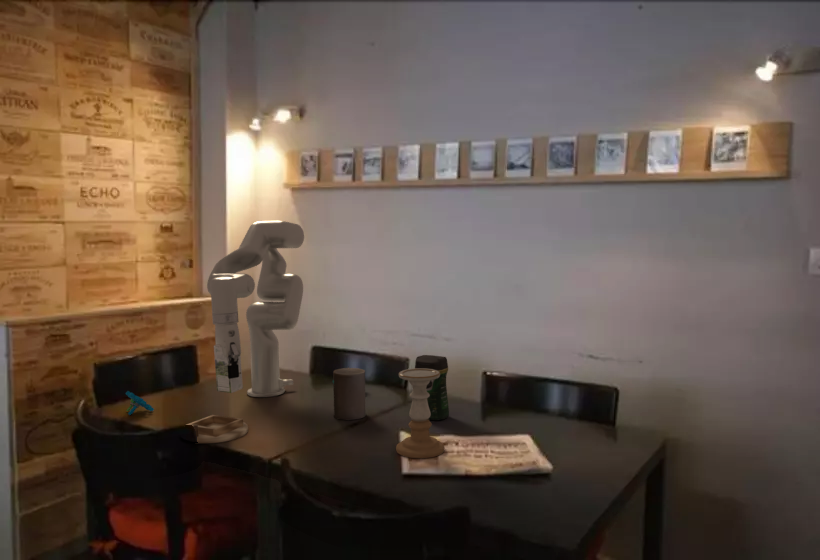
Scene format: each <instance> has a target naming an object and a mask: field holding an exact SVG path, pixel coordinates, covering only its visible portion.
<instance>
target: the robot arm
mask: <svg viewBox="0 0 820 560" xmlns="http://www.w3.org/2000/svg"><path fill="white" fill-rule="evenodd" d="M304 239H305V233H304V230H303V228H302V226H301V225H299V224H297V223H295V222H294V223H293V222H290V221H286V220H285V221H284V220H262V221H261V220H260V221H255V222H253V223H252V224H250V226H249V228H248V230H247V231H246V233H245V235H244V237H243V239H242V241H241V242H240V245H239V247H238V248H237V249H236V250H235V249H234V251H232V252H230V253H229V254H227V255H225V256H224V257H222V258H221V259H220V260H219V261H217V263H216V264H215V265H214V267H213V269H211V272H210V274H209V276H208V279H207V282H206V283H207V285H206V288H207V292H208V294H209V295H210V300H211V301H210V302H211V314H212V315H211V317H212V319H211V320H212V325H214V336H215V337H214V339H215V340H214V341H215V345H216V344H218V345H220V346H221V347H222V351H223V355H224V356H225V357H227V360H228V364H229V365H228V366H227V367H228V378H229V379H231V378H237V377H239V366H238V364H239V362H238V360H239V359H238V356H239V355H242V349H241V348H242V346H241V339H240V331H239V330H240V329H239V325H238V323H239V309H238V299H242V298H243V299H245V298H247V297H249V296H251V295H252V294H253V293H254V290H255V287H256V296H257V297H258V298H259V300H262V301H256V302H253V303H251V304H250V305H249V306H248V307H247V309H246V314H245V315H246V316H245V317H246V323H247V328H248V332H249V344H250V345H249V347H250V376H251V378H250V379H251V388H248V389H247V391H246V394H247V395H248V396H249V397H253V398H270V397H277V396H280V395H282V394H284V393H285V388H284V387H286V386H293V385H294V380H293V379H291V378H289V379H287V378H286V379H285V378H284V379H282V378H280V347H279V340H278V337H277V335H276V334H275V332H274V331H275V330H276V331H290V330H293V329H295V328H296V326H297V324H298V321H299V315H300V311H301V306H302V300H303V294H304V283H303V279H302V278H301V277H300V276H299V275H298V274H294V273H286V269H287V262H286V259H285V258H284V256H283V255H282V254H281V252H280V251H279V250H278V249H298V248H300V247H301V246H302V245H303V243H304V241H305V240H304ZM260 264H261V267H260V273H259V278H258V281H257V286H255V285H256V284H255V280H254V278H253V276H251V275H250V274H248V273H241V272H243V271H246V270H249V269H253V268H254V267H255V268H256V267H257V266H259V265H260ZM239 272H240V273H239ZM230 349H231V353H233V355H229V354H228V353H229V351H230ZM230 358H232V359H231V360H230Z"/></svg>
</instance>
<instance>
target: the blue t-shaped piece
mask: <svg viewBox="0 0 820 560" xmlns="http://www.w3.org/2000/svg"><path fill="white" fill-rule="evenodd" d="M125 395H126V396H127V397H128V398H129V399H130V403H129V407H128V408H127V409H126V410H125V412H126V411H129V412H127V414H128V415H129V416H130V415H131V414H132V415H133V413H134V412H135V411H136V410H137V409H139V407H142V408H143V409H145V410H147V411H149V412H151V411H152V412H154V410H155V408H154V407H153V406H152V405H150V404H149V403H147V401H146V400H144V398H141V397H140V396H138V395H135V393H133V392H130V391H129V390H127V391H126V392H125ZM132 415H131V416H132Z"/></svg>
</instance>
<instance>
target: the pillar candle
mask: <svg viewBox="0 0 820 560" xmlns="http://www.w3.org/2000/svg"><path fill="white" fill-rule="evenodd" d="M332 373H333V374H332V375H333V378H332V383H333V414H334V415H333V417H334V418H335V419H338V420H344V421H350V420H351V421H352V420H359V419H362V418H365V417H366V414H367V413H366V407H367V406H366V369H362V368H357V367H349V366H348V367H344V368H338V369H334V370H333V372H332Z"/></svg>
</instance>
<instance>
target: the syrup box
mask: <svg viewBox="0 0 820 560" xmlns="http://www.w3.org/2000/svg"><path fill="white" fill-rule="evenodd" d="M213 353H214V366H215V368H214V369H215V381H216V382H215V383H216V390H217V392H220V393H227V394H229V393H230V394H232V393H235V392H238V391H240V390H242V389H243V388H244V387H243V386H244V385H243V373H242V371H243V370H242V357H241V355H242V354H241V355H239V356H238V359H239V360H238V362H239V364H238V366H239V377H237V378H231V379H229V378H228V367H227V366H228V365H229V364H228V360H227V357H225V356H224V355H223V351H222V347H221V346H220V345H218V344H216V343H215V344H214V345H213ZM228 354H229V355H233V353H231V349H230V351H229V353H228ZM231 359H232V358H230V360H231Z"/></svg>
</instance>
